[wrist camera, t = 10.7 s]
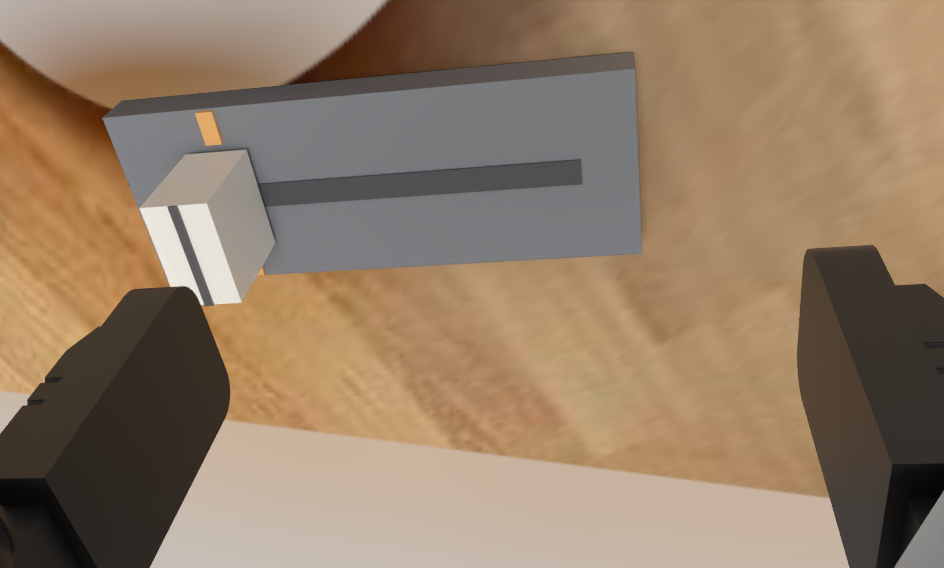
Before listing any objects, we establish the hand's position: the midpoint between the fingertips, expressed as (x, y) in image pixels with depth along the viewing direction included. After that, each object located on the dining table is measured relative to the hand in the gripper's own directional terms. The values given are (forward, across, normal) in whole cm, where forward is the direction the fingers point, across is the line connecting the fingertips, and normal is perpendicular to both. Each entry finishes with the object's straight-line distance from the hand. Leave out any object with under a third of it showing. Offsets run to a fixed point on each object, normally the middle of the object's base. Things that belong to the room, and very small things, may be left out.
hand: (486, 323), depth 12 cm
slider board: (+28, +10, +11) cm, 31 cm away
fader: (+26, +17, +11) cm, 32 cm away
